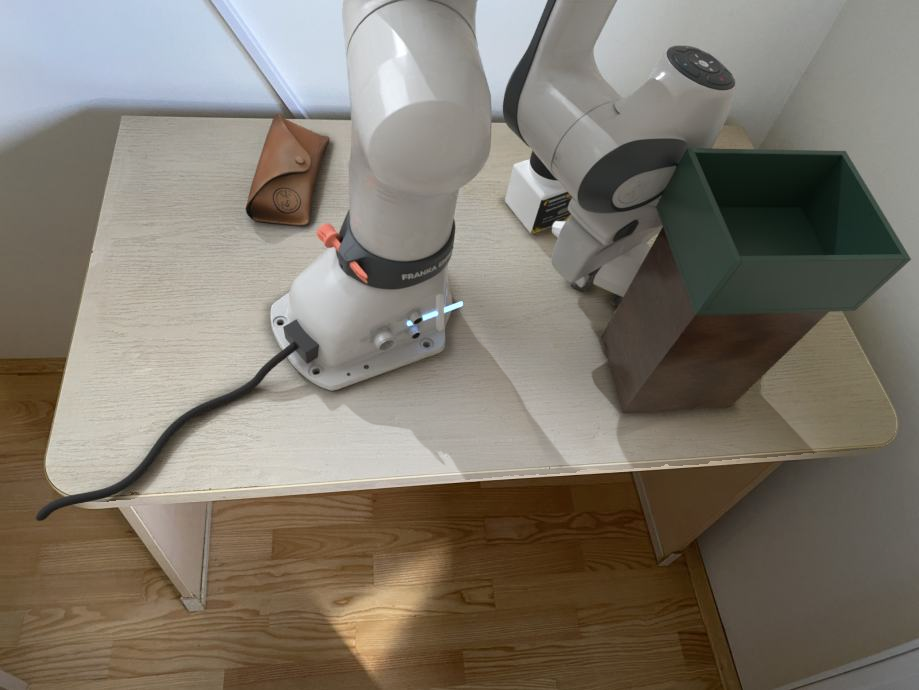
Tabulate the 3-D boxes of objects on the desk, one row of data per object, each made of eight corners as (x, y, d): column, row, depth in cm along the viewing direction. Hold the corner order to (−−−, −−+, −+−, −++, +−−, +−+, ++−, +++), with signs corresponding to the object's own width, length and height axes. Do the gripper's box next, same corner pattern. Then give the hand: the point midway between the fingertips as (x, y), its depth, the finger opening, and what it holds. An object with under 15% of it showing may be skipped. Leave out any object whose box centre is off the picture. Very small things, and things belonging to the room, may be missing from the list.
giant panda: (646, 288, 89) (674, 241, 81) (634, 317, 86) (662, 272, 78) (547, 244, 91) (565, 194, 83) (532, 271, 88) (550, 222, 80)
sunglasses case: (312, 225, 87) (281, 190, 82) (269, 238, 90) (236, 205, 85) (331, 134, 97) (305, 98, 92) (292, 148, 99) (264, 114, 94)
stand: (622, 413, 78) (702, 305, 60) (601, 335, 84) (668, 215, 66) (730, 407, 81) (839, 301, 62) (702, 332, 87) (795, 215, 68)
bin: (695, 315, 59) (735, 261, 53) (655, 207, 66) (686, 147, 60) (855, 311, 62) (911, 259, 56) (800, 207, 69) (845, 150, 62)
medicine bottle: (530, 235, 92) (551, 170, 82) (503, 201, 95) (520, 134, 85) (571, 220, 94) (596, 155, 84) (543, 187, 97) (564, 120, 87)
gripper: (684, 140, 79) (644, 220, 91) (558, 204, 71) (532, 283, 83) (723, 173, 77) (677, 250, 88) (598, 243, 69) (565, 318, 80)
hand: (606, 267), depth 85 cm, fingers open, 8 cm apart
